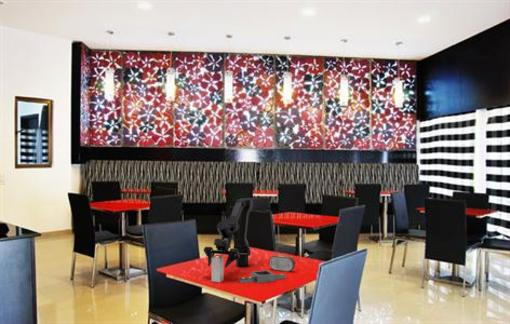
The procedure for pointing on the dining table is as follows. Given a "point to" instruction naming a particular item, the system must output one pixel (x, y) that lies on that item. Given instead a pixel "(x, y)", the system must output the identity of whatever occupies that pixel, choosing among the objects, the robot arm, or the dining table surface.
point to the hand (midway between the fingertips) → (216, 266)
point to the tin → (282, 263)
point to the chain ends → (262, 277)
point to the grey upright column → (217, 268)
